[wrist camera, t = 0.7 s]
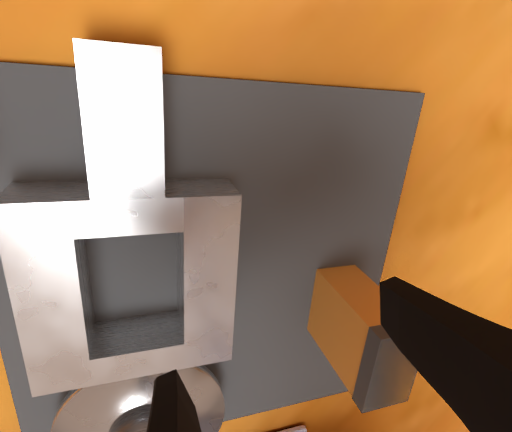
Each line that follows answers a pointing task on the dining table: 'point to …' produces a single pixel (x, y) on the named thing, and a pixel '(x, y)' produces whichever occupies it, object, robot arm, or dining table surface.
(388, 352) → the orange grey two-tone block
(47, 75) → the site mat
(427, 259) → the dining table surface
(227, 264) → the scaffold node
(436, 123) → the dining table surface
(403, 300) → the robot arm
